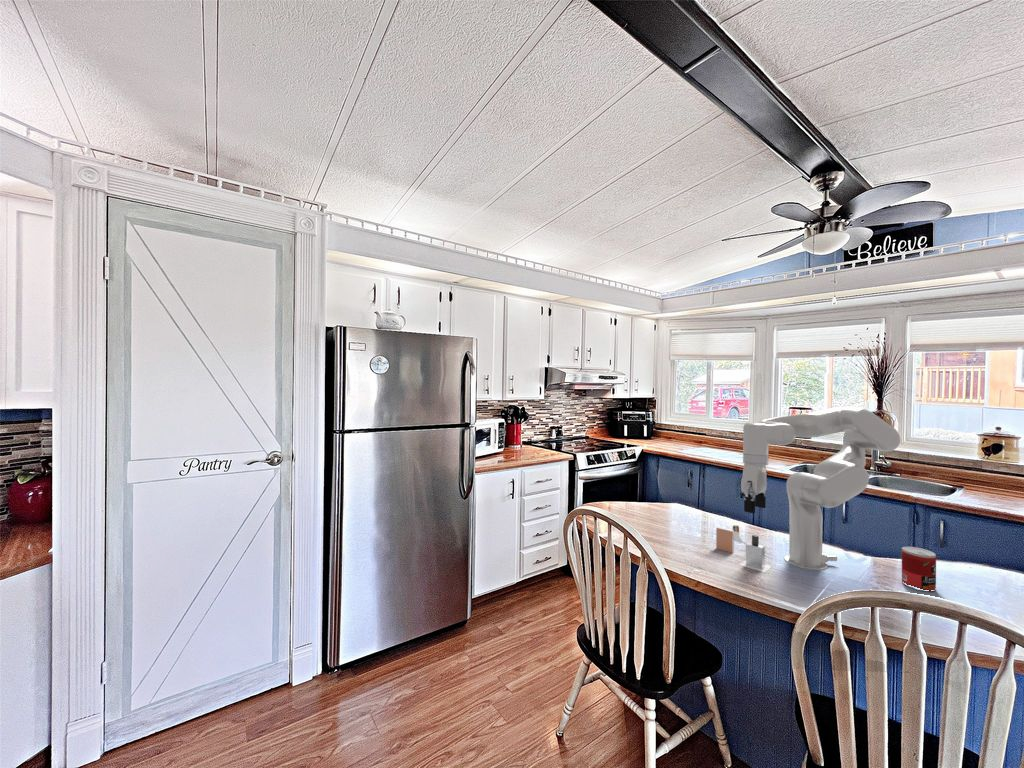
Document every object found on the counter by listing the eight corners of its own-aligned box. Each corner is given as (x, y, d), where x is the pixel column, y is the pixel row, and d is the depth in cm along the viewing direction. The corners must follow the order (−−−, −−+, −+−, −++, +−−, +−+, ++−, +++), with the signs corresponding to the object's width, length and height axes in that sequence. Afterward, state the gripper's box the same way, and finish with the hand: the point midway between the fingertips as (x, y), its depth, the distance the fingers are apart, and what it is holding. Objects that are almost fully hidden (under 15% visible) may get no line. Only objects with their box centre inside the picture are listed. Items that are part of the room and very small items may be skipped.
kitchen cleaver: (718, 523, 197) (744, 525, 192) (718, 526, 197) (744, 528, 192) (716, 541, 175) (745, 544, 171) (716, 544, 175) (745, 547, 171)
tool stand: (746, 561, 155) (746, 559, 155) (771, 569, 150) (771, 566, 150) (738, 567, 151) (738, 565, 151) (764, 574, 145) (764, 572, 145)
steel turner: (748, 562, 153) (748, 533, 153) (764, 567, 149) (764, 537, 149) (745, 564, 151) (746, 535, 151) (761, 569, 147) (762, 539, 147)
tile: (717, 548, 167) (717, 526, 167) (734, 552, 162) (734, 530, 162) (716, 548, 166) (716, 527, 166) (732, 553, 162) (732, 531, 162)
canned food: (927, 594, 132) (928, 557, 132) (895, 583, 139) (896, 548, 139) (941, 589, 135) (941, 553, 135) (909, 579, 142) (909, 544, 142)
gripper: (753, 455, 159) (752, 503, 159) (733, 460, 147) (733, 512, 147) (776, 458, 153) (775, 507, 153) (758, 463, 142) (757, 517, 142)
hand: (755, 509), depth 150 cm, fingers open, 9 cm apart
